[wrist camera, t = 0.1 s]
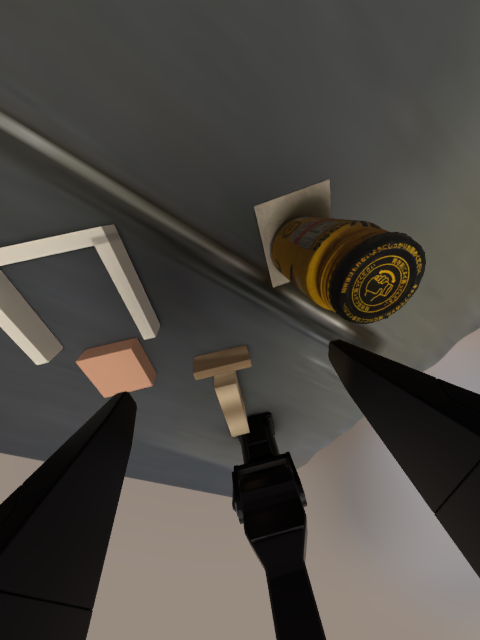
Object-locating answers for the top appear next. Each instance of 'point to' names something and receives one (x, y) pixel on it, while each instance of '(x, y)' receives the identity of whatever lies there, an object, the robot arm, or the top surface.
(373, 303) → the condiment
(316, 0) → the top surface
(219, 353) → the scraper
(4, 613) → the robot arm
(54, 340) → the corral
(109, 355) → the tile
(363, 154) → the top surface
